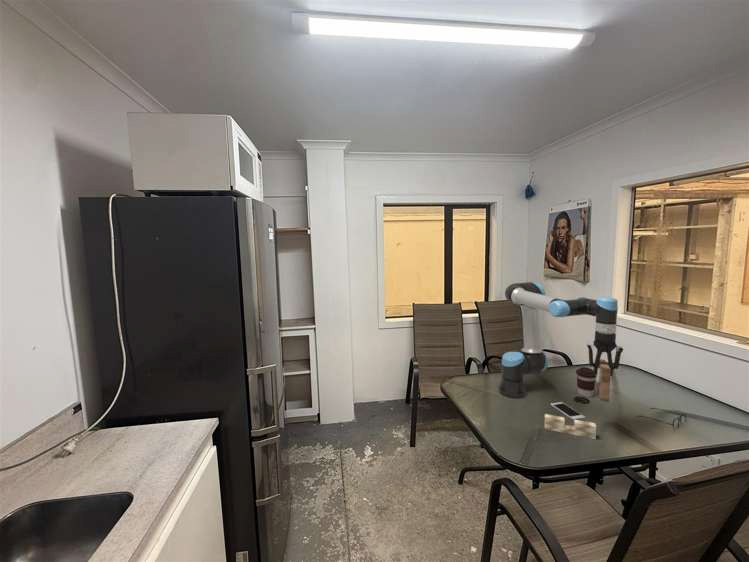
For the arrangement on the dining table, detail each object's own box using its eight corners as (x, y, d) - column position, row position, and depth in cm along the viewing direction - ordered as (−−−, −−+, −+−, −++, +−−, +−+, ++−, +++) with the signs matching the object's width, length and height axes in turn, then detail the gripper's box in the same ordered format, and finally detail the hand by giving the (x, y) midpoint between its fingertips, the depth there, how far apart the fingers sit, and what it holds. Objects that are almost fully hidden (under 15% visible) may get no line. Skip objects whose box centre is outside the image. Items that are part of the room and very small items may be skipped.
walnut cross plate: (608, 402, 137) (610, 369, 135) (600, 400, 138) (602, 368, 137) (602, 390, 148) (604, 359, 146) (595, 389, 149) (596, 358, 147)
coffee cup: (589, 390, 184) (590, 366, 182) (599, 398, 174) (601, 373, 173) (571, 390, 185) (572, 366, 183) (581, 398, 175) (582, 372, 174)
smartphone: (573, 420, 155) (573, 418, 155) (550, 405, 170) (550, 403, 170) (585, 418, 157) (585, 416, 156) (561, 403, 172) (561, 401, 172)
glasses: (674, 432, 144) (673, 421, 143) (635, 420, 157) (634, 410, 157) (687, 422, 150) (686, 412, 150) (648, 412, 163) (648, 402, 163)
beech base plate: (544, 428, 148) (545, 417, 148) (544, 425, 151) (544, 413, 150) (595, 439, 139) (596, 426, 139) (594, 435, 142) (595, 423, 141)
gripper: (585, 332, 140) (582, 382, 142) (630, 335, 133) (626, 388, 135) (582, 328, 146) (580, 375, 149) (625, 331, 139) (622, 381, 142)
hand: (602, 381), depth 142 cm, fingers closed on walnut cross plate, 3 cm apart
